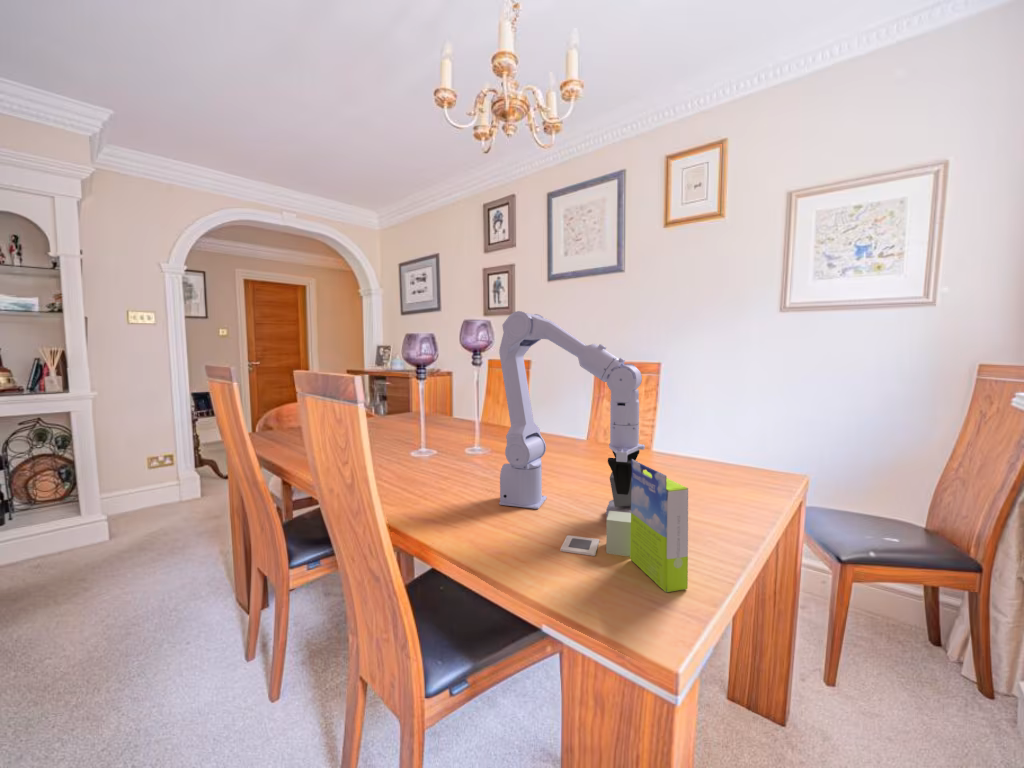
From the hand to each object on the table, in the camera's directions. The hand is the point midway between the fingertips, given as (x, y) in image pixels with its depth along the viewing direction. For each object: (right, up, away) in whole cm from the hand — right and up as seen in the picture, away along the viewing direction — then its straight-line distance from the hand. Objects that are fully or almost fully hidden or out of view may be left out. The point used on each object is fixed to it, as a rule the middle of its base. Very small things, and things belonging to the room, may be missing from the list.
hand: (624, 488), depth 88 cm
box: (-1, -8, -22) cm, 23 cm away
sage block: (-4, -8, -13) cm, 16 cm away
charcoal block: (0, -3, 0) cm, 3 cm away
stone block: (+1, -7, 0) cm, 7 cm away
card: (-11, -8, -12) cm, 18 cm away
